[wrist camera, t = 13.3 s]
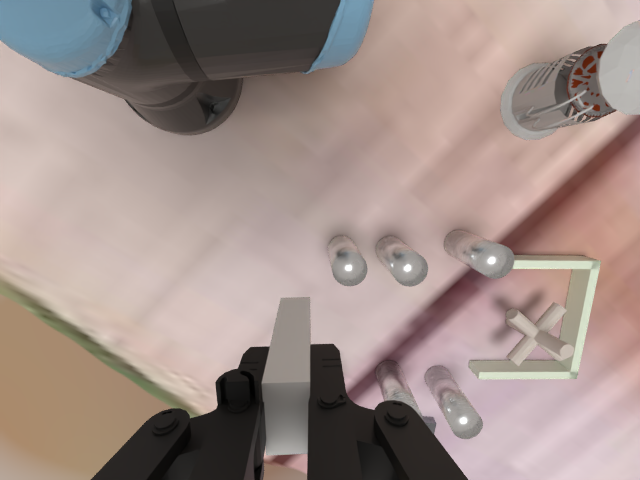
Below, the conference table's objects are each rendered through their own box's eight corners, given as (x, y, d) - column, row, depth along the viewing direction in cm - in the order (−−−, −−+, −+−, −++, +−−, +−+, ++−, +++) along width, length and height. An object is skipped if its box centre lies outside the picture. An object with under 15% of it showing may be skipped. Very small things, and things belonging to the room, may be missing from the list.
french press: (584, 111, 42) (957, 25, 18) (510, 162, 44) (765, 146, 19) (552, 46, 41) (917, -149, 16) (475, 101, 42) (708, -4, 17)
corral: (482, 254, 46) (494, 260, 43) (582, 255, 47) (601, 260, 44) (468, 367, 50) (478, 379, 47) (561, 366, 50) (576, 378, 47)
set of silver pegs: (314, 228, 45) (315, 243, 35) (472, 230, 45) (516, 245, 36) (312, 388, 50) (312, 440, 40) (454, 387, 51) (488, 438, 41)
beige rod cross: (512, 363, 49) (566, 403, 39) (467, 326, 48) (512, 359, 38) (554, 314, 49) (620, 343, 39) (510, 276, 47) (567, 296, 38)
